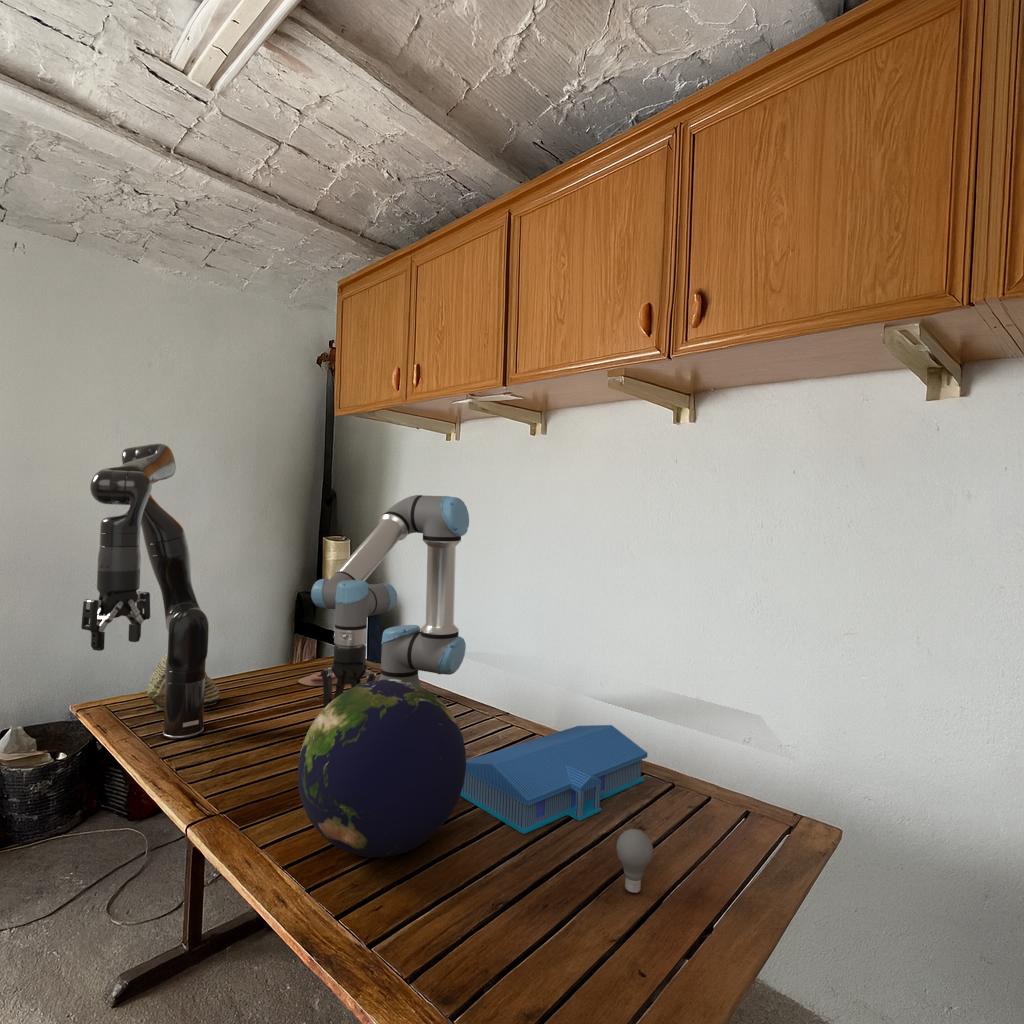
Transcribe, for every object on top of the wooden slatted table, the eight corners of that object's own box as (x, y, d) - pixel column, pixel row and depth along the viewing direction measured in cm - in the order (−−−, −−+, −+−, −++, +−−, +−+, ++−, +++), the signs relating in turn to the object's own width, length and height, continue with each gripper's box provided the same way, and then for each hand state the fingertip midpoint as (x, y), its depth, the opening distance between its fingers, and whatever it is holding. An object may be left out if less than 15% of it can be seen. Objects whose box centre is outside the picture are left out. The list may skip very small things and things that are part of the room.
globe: (256, 866, 108) (262, 691, 107) (361, 794, 135) (366, 654, 135) (408, 917, 96) (416, 722, 96) (488, 827, 124) (495, 675, 123)
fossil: (144, 707, 182) (145, 655, 182) (212, 696, 194) (213, 647, 194) (151, 716, 175) (153, 662, 175) (221, 703, 188) (223, 653, 188)
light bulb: (610, 879, 108) (613, 822, 108) (644, 879, 109) (647, 822, 109) (619, 902, 102) (622, 840, 102) (655, 901, 103) (658, 840, 103)
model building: (535, 841, 120) (537, 789, 119) (456, 793, 138) (458, 747, 137) (656, 785, 146) (658, 742, 146) (576, 751, 164) (578, 712, 164)
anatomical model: (293, 672, 210) (311, 663, 221) (292, 684, 210) (310, 675, 221) (330, 676, 207) (346, 667, 219) (329, 688, 208) (345, 678, 219)
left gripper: (103, 572, 123) (100, 655, 123) (161, 565, 136) (159, 640, 137) (72, 569, 125) (70, 651, 125) (133, 563, 138) (131, 637, 139)
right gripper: (310, 646, 150) (306, 743, 151) (379, 650, 149) (375, 749, 149) (322, 639, 158) (319, 732, 158) (388, 643, 156) (385, 737, 157)
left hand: (116, 645), depth 131 cm, fingers open, 8 cm apart
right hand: (346, 740), depth 154 cm, fingers closed on canister, 4 cm apart
